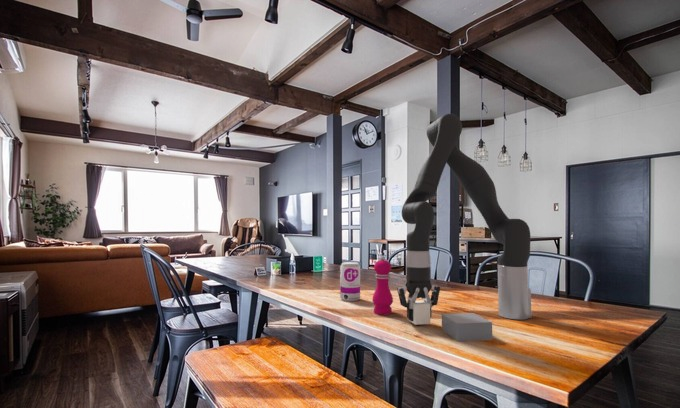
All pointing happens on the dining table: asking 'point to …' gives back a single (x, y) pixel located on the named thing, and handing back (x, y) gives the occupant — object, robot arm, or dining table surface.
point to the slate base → (467, 327)
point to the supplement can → (350, 281)
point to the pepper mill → (382, 288)
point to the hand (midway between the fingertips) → (419, 319)
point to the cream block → (421, 313)
